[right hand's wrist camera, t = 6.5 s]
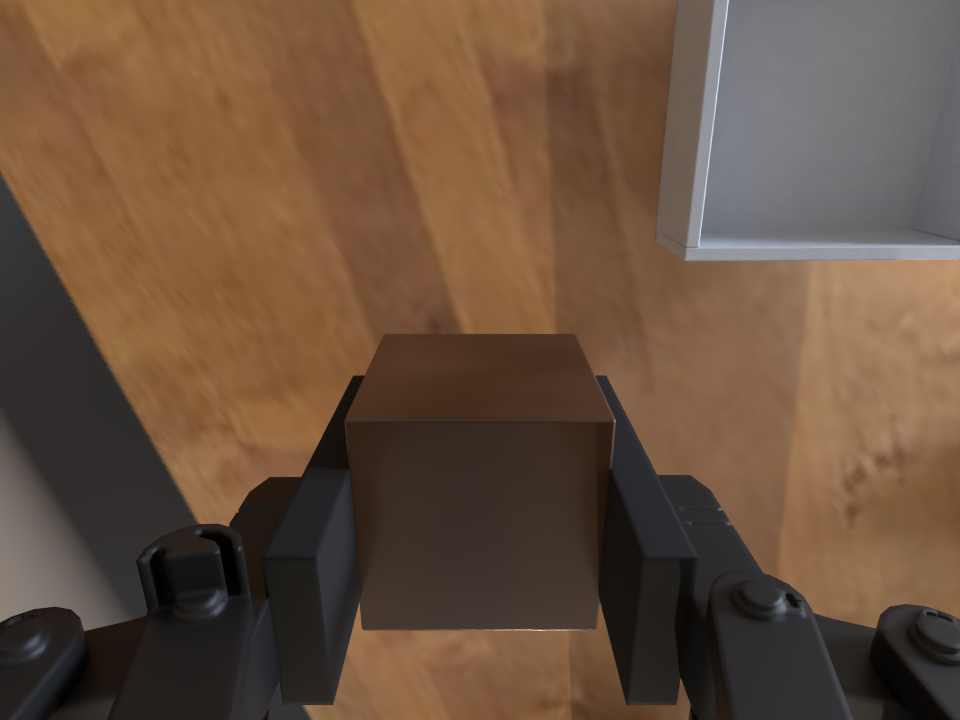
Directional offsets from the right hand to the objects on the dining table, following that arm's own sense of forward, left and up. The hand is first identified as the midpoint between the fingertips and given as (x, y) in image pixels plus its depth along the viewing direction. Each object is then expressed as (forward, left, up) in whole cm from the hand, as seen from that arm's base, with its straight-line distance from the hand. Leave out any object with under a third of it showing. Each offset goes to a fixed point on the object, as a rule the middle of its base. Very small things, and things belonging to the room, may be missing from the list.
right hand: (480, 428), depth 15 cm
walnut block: (0, 0, 0) cm, 0 cm away
